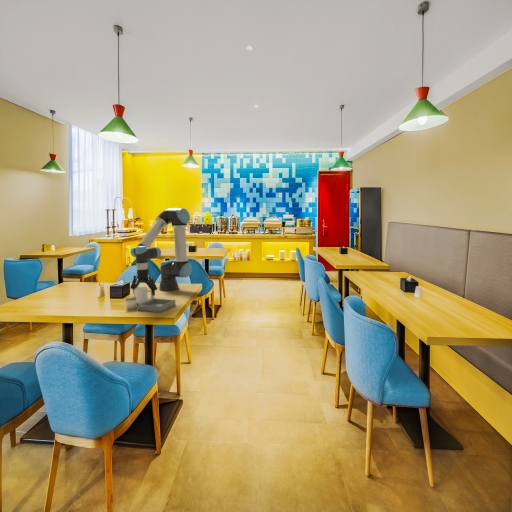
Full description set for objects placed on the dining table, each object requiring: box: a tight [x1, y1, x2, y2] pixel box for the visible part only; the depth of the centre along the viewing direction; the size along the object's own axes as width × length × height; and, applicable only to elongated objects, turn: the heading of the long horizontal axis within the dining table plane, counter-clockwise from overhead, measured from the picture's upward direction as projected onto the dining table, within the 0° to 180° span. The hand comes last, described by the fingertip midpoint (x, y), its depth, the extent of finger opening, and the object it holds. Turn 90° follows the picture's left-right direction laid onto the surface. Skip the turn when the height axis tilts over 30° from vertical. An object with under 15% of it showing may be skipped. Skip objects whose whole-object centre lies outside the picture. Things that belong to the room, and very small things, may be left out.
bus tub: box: [137, 297, 176, 313], centre depth 207 cm, size 17×17×4 cm
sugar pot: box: [125, 295, 138, 310], centre depth 207 cm, size 7×7×7 cm
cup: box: [135, 286, 151, 305], centre depth 219 cm, size 8×12×10 cm
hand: (144, 299), depth 220 cm, fingers open, 13 cm apart
